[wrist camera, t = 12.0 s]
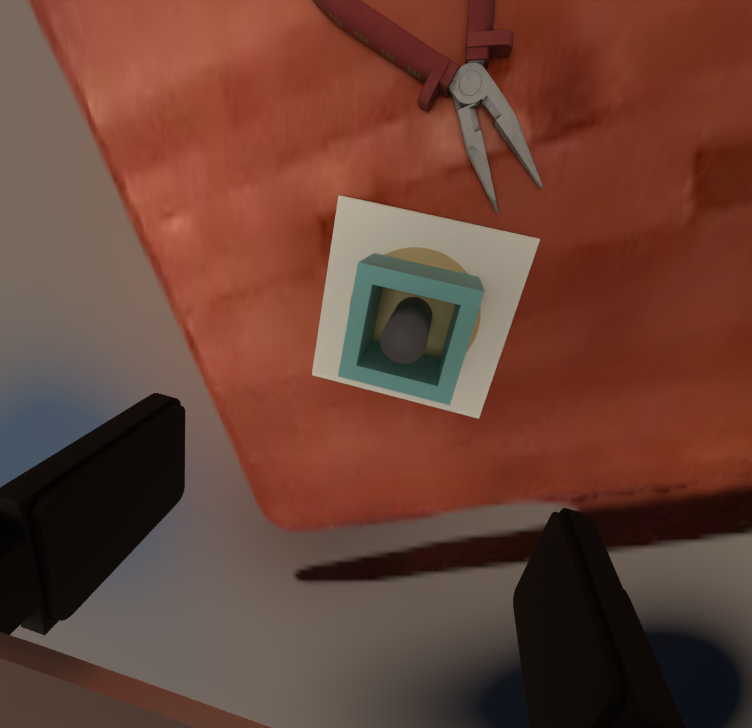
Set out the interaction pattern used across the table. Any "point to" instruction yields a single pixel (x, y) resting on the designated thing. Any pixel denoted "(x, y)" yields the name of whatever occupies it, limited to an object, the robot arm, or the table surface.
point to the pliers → (447, 74)
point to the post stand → (418, 313)
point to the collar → (427, 372)
